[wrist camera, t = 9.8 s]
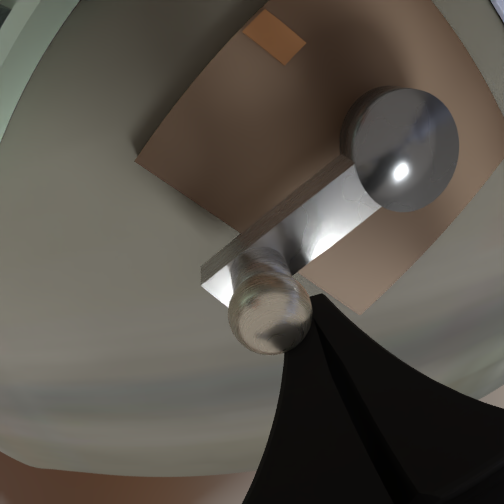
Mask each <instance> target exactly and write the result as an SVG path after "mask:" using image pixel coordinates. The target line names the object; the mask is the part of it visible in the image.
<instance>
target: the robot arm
mask: <svg viewBox="0 0 504 504" xmlns="http://www.w3.org/2000/svg"><path fill="white" fill-rule="evenodd" d="M490 1H491V2H492V4H493V6H494V7H495V9H496V10H497V12H498V14H499V15H500V17H501V19H502V20H503V22H504V0H490ZM309 298H310V301H311V304H312V311H313V312H312V322H311V326H310V329H309V331H308V333H307V335H306V336H305V338H304V339H303V340H302V341H301V342H300V343H299V344H298V345H297V346H296V347H295V348H293V349H291V350H290V351H287V352H285V353H284V366H283V374H282V382H281V389H280V394H279V399H278V404H277V409H276V413H275V417H274V421H273V425H272V428H271V432H270V435H269V439H268V442H267V445H266V448H265V451H264V454H263V456H262V459H261V461H260V464H259V467H258V469H257V472H256V474H255V477H254V479H253V482H252V484H251V486H250V488H249V491H248V492H247V494H246V496H245V499H244V501H243V503H242V504H504V409H502V408H499V407H496V406H493V405H490V404H487V403H484V402H481V401H479V400H476V399H474V398H471V397H469V396H466V395H464V394H462V393H459V392H457V391H455V390H453V389H451V388H449V387H447V386H445V385H443V384H441V383H439V382H437V381H435V380H433V379H431V378H429V377H427V376H426V375H424V374H422V373H421V372H419V371H417V370H415V369H414V368H412V367H411V366H409V365H407V364H406V363H404V362H403V361H401V360H400V359H398V358H397V357H396V356H394V355H393V354H391V353H390V352H389V351H387V350H386V349H385V348H383V347H382V346H381V345H379V344H378V343H377V342H375V341H374V340H373V339H372V338H370V337H369V336H368V335H367V334H366V333H364V332H363V331H362V330H361V329H360V328H359V327H357V326H356V325H355V324H354V323H353V322H352V321H351V320H349V319H348V318H347V317H346V316H345V315H344V314H343V313H342V312H341V311H340V310H339V309H338V308H337V307H336V306H335V305H334V304H333V303H332V302H331V301H330V300H329V299H328V298H327V297H326V296H325V295H324V294H322V293H321V294H318V295H315V296H311V297H309Z"/></svg>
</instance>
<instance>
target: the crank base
mask: <svg viewBox="0 0 504 504" xmlns="http://www.w3.org/2000/svg"><path fill="white" fill-rule="evenodd" d="M388 85H390V86H400V87H406V88H412V89H418V90H422V91H426V92H428V93H430V94H432V95H434V96H435V97H437V98H438V99H439V100H440V101H442V102H443V103H444V105H445V106H446V107H447V108H448V110H449V111H450V113H451V115H452V117H453V119H454V121H455V124H456V126H457V131H458V136H459V156H458V162H457V166H456V169H455V172H454V174H453V177H452V179H451V180H450V182H449V184H448V185H447V187H446V188H445V190H444V191H443V192H442V193H441V195H440V196H439V197H437V198H436V199H435V200H434V201H433V202H431V203H430V204H428V205H427V206H425V207H423V208H421V209H418V210H415V211H411V212H395V211H391V210H388V209H386V208H384V207H381V208H379V209H378V210H377V211H376V212H374V213H373V214H372V215H371V216H369V217H368V218H367V219H365V220H364V221H363V222H362V223H360V224H359V225H358V226H357V227H355V228H354V229H353V230H351V231H350V232H349V233H348V234H346V235H345V236H344V237H342V238H341V239H340V240H339V241H337V242H336V243H335V244H333V245H332V246H331V247H329V248H328V249H327V250H325V251H324V252H323V253H322V254H320V255H319V256H318V257H316V258H315V259H314V260H312V261H311V262H310V263H308V264H307V265H306V266H304V267H303V268H302V269H300V270H299V271H298V273H299V274H301V275H302V276H304V277H305V278H307V279H308V280H310V281H311V282H312V283H314V284H315V285H317V286H318V287H320V288H321V289H323V290H324V291H325V292H327V293H328V294H330V295H331V296H333V297H334V298H336V299H337V300H338V301H340V302H341V303H343V304H344V305H346V306H347V307H349V308H350V309H351V310H353V311H354V312H356V313H357V314H359V315H361V314H362V313H363V312H364V311H365V310H366V309H368V308H369V307H370V306H371V305H372V304H373V303H374V302H375V301H376V300H377V299H378V298H379V297H380V296H381V295H382V294H384V293H385V292H386V291H387V290H388V289H389V288H390V287H391V286H392V285H393V284H394V283H395V282H396V281H397V280H398V279H399V278H400V277H401V276H402V275H403V274H404V273H405V272H406V271H407V270H408V269H409V268H410V267H411V266H412V265H413V264H414V263H415V262H416V261H417V260H418V259H419V258H420V257H421V256H422V255H423V253H424V252H425V251H426V250H427V249H428V248H429V247H430V246H431V245H432V244H433V243H434V242H435V241H436V240H437V238H438V237H439V236H440V235H441V234H442V233H443V232H444V231H445V230H446V229H447V227H448V226H449V225H450V224H451V223H452V222H453V221H454V219H455V218H456V217H457V216H458V215H459V214H460V213H461V211H462V210H463V209H464V208H465V207H466V205H467V204H468V203H469V202H470V201H471V199H472V198H473V197H474V196H475V195H476V193H477V192H478V191H479V190H480V188H481V187H482V186H483V185H484V183H485V182H486V181H487V180H488V178H489V177H490V176H491V175H492V173H493V172H494V171H495V169H496V168H497V167H498V165H499V164H500V163H501V161H502V160H503V159H504V117H503V115H502V113H501V111H500V109H499V107H498V105H497V103H496V101H495V99H494V97H493V95H492V93H491V91H490V89H489V87H488V85H487V83H486V82H485V80H484V78H483V76H482V75H481V73H480V71H479V69H478V68H477V66H476V64H475V63H474V61H473V59H472V58H471V56H470V54H469V53H468V51H467V50H466V48H465V47H464V45H463V43H462V42H461V40H460V39H459V37H458V36H457V35H456V33H455V32H454V30H453V29H452V27H451V26H450V25H449V23H448V22H447V20H446V19H445V18H444V16H443V15H442V14H441V12H440V11H439V10H438V8H437V7H436V6H435V5H434V3H433V2H432V1H431V0H269V1H268V2H267V3H266V4H265V5H264V6H263V7H262V8H261V9H260V10H258V11H257V12H256V13H255V14H254V15H253V16H252V17H251V18H250V19H249V20H248V21H247V22H246V23H245V24H244V26H243V27H242V28H241V29H240V30H239V31H238V32H237V33H236V34H235V35H234V36H233V37H232V38H231V39H230V40H229V41H228V42H227V43H226V45H225V46H224V47H223V48H222V49H221V50H220V51H219V52H218V53H217V55H216V56H215V57H214V58H213V59H212V60H211V61H210V62H209V64H208V65H207V66H206V67H205V68H204V69H203V71H202V72H201V73H200V74H199V75H198V77H197V78H196V79H195V80H194V81H193V83H192V84H191V85H190V86H189V88H188V89H187V90H186V91H185V92H184V94H183V95H182V96H181V98H180V99H179V100H178V101H177V103H176V104H175V105H174V107H173V108H172V109H171V110H170V112H169V113H168V114H167V116H166V117H165V118H164V120H163V121H162V122H161V124H160V125H159V127H158V128H157V129H156V131H155V132H154V133H153V135H152V136H151V138H150V139H149V141H148V142H147V143H146V145H145V146H144V148H143V149H142V151H141V152H140V154H139V155H138V157H137V158H136V159H135V162H136V163H138V164H139V165H141V166H142V167H144V168H145V169H147V170H148V171H149V172H151V173H152V174H154V175H155V176H157V177H158V178H160V179H161V180H163V181H164V182H166V183H167V184H169V185H170V186H172V187H173V188H175V189H176V190H178V191H179V192H181V193H182V194H184V195H185V196H187V197H188V198H190V199H191V200H193V201H194V202H195V203H197V204H198V205H200V206H201V207H203V208H204V209H206V210H207V211H209V212H210V213H212V214H213V215H215V216H216V217H218V218H219V219H221V220H222V221H223V222H225V223H226V224H228V225H229V226H231V227H232V228H234V229H235V230H237V231H238V232H240V233H242V232H243V231H245V230H246V229H247V228H248V227H250V226H251V225H252V224H253V223H255V222H256V221H257V220H258V219H260V218H261V217H262V216H263V215H265V214H266V213H267V212H268V211H269V210H271V209H272V208H273V207H274V206H276V205H277V204H278V203H279V202H281V201H282V200H283V199H284V198H286V197H287V196H288V195H290V194H291V193H292V192H293V191H295V190H296V189H297V188H298V187H300V186H301V185H302V184H303V183H305V182H306V181H307V180H308V179H310V178H311V177H312V176H313V175H315V174H316V173H317V172H319V171H320V170H321V169H322V168H324V167H325V166H326V165H327V164H329V163H330V162H331V161H333V160H334V159H335V158H336V157H338V156H339V155H340V150H339V138H340V131H341V127H342V124H343V121H344V118H345V116H346V114H347V112H348V110H349V109H350V107H351V106H352V105H353V103H354V102H355V101H356V100H357V99H358V98H359V97H361V96H362V95H363V94H364V93H366V92H368V91H369V90H372V89H374V88H377V87H381V86H388Z"/></svg>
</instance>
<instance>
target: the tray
mask: <svg viewBox="0 0 504 504" xmlns="http://www.w3.org/2000/svg"><path fill="white" fill-rule="evenodd" d="M79 1H80V0H0V4H2V5H4V6H6V7H8V8H10V9H12V10H11V12H10V13H9V15H8V17H7V18H6V20H5V22H4V23H3V25H2V27H1V29H0V142H1V139H2V137H3V134H4V132H5V129H6V127H7V125H8V122H9V120H10V118H11V116H12V113H13V111H14V109H15V107H16V105H17V103H18V100H19V98H20V96H21V94H22V92H23V90H24V88H25V86H26V84H27V83H28V81H29V79H30V77H31V75H32V73H33V71H34V70H35V68H36V66H37V64H38V63H39V61H40V59H41V57H42V56H43V54H44V52H45V51H46V49H47V48H48V46H49V44H50V43H51V41H52V40H53V38H54V36H55V35H56V33H57V32H58V30H59V29H60V27H61V26H62V24H63V23H64V22H65V20H66V19H67V17H68V16H69V15H70V13H71V12H72V10H73V9H74V8H75V6H76V5H77V4H78V2H79Z"/></svg>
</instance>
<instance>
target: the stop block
mask: <svg viewBox="0 0 504 504" xmlns="http://www.w3.org/2000/svg"><path fill="white" fill-rule="evenodd" d="M11 10H12V9H10V8H8V7H6V6H4V5H2V4H0V29H1V27H2V25H3V23H4V22H5V20H6V18H7V17H8V15H9V13H10V12H11Z"/></svg>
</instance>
